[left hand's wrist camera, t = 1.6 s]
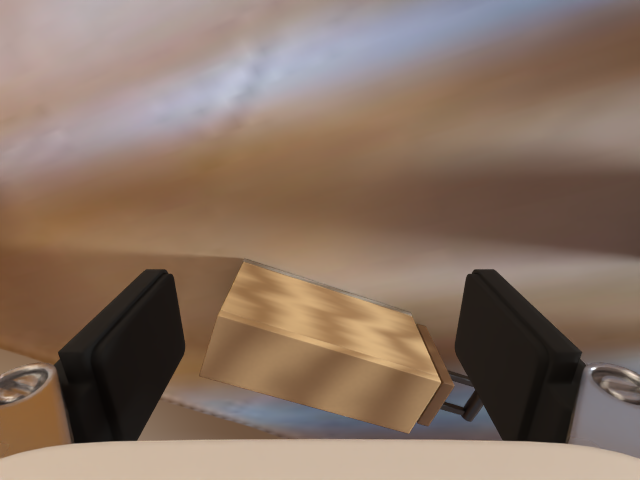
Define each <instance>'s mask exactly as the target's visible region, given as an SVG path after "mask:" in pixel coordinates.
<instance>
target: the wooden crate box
mask: <svg viewBox="0 0 640 480" xmlns="http://www.w3.org/2000/svg"><path fill="white" fill-rule="evenodd" d="M199 376H201V377H204V378H208V379H211V380H215V381H219V382H222V383H226V384H230V385H233V386H237V387H241V388H244V389H248V390H251V391H255V392H259V393H262V394H266V395H270V396H273V397H277V398H281V399H284V400H288V401H291V402H295V403H299V404H302V405H306V406H310V407H313V408H317V409H321V410H324V411H328V412H331V413H335V414H339V415H342V416H346V417H350V418H353V419H357V420H361V421H364V422H368V423H371V424H375V425H379V426H382V427H386V428H390V429H393V430H397V431H401V432H404V433H408V434H409V433H410V431H411V430H412V428H413V426H414V425H415V423H416V422H417V420H418V418H419V417H420V415H421V414H422V412H423V411H424V409H425V407H426V406H427V404H428V403H429V401H430V399H431V398H432V396H433V395H434V393H435V392H436V390H437V388H438V387H439V385H440V384H441V381H440V378H439V377H438V374H437V372H436V370H435V367H434V365H433V363H432V360H431V358H430V356H429V354H428V351H427V349H426V347H425V345H424V342H423V340H422V338H421V336H420V333H419V331H418V329H417V327H416V324H415V322H414V320H413V318H412V314H411V313H410V312H407V311H404V310H401V309H398V308H395V307H392V306H389V305H386V304H383V303H380V302H377V301H374V300H371V299H367V298H364V297H361V296H358V295H355V294H352V293H349V292H346V291H343V290H340V289H337V288H334V287H331V286H327V285H324V284H321V283H318V282H315V281H312V280H309V279H306V278H303V277H300V276H297V275H294V274H291V273H288V272H284V271H281V270H278V269H275V268H272V267H269V266H266V265H263V264H260V263H257V262H254V261H251V260H248V259H244V261H243V263H242V265H241V267H240V270H239V272H238V274H237V276H236V278H235V280H234V282H233V284H232V286H231V288H230V291H229V293H228V295H227V297H226V299H225V301H224V303H223V305H222V307H221V309H220V311H219V314H218V316H217V319H216V322H215V325H214V329H213V332H212V335H211V338H210V342H209V345H208V348H207V351H206V355H205V358H204V361H203V364H202V368H201V371H200V374H199Z"/></svg>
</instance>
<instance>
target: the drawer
mask: <svg viewBox="0 0 640 480" xmlns="http://www.w3.org/2000/svg"><path fill="white" fill-rule="evenodd" d="M416 327H417V329H418V331H419V333H420V336H421V338H422V340H423V342H424V345H425V347H426V349H427V351H428V354H429V356H430V358H431V360H432V363H433V365H434V367H435V370H436V372H437V374H438V377H439V378H440V381H441V384H440V385H439V387H438V388H437V390H436V392H435V393H434V395H433V396H432V398H431V399H430V401H429V403H428V404H427V406H426V407H425V409H424V411H423V412H422V414H421V415H420V417H419V418H418V420H417V423H418V424H421V425H425V426H429V425H430V423H431V422H432V420H433V418H434V417H435V415H436V414H437V412H438V411H439V409H442V410H445V411H449V412H452V413H456V414H459V415H461V416H462V417H463V418H464V419H465V420H467V421H469V422H471V421H472V420H473V419H474V418H475V416H476V415H477V413H478V412H479V411H480V409H481V408H482V406H483V403H482V401H481V399H480V398H479V396H478V394H477V392H476V390H475V391H474V393H473V394H472V396H471V397H470V398H469V400H468V401H467V403H466V404H465V406H464V407H461V406H457V405H454V404H451V403H447V402H445V400H446V399H447V397H448V395H449V394H450V392H451V391H452V389H453V388H454V383H453V381H455V382H459V383H462V384H465V385H469V386H472V387H473V385H472V383H471V381H470V379H469V377H468V376H464V375H461V374H458V373H455V372H451V371H448V370H447V369H446V367H445V365H444V363H443V361H442V359H441V357H440V355H439V353H438V350H437V348H436V346H435V344H434V342H433V340H432V338H431V336H430V334H429V332H428V330H427V328H426V326H423V325H420V324H416Z"/></svg>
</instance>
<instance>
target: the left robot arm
mask: <svg viewBox="0 0 640 480" xmlns="http://www.w3.org/2000/svg"><path fill="white" fill-rule="evenodd" d="M184 352H185V340H184V334H183V329H182V323H181V317H180V311H179V305H178V299H177V293H176V288H175V282H174V277H173V275H172V274H168V272H167V271H166V270H164V269H146V270H145V271H143V272H142V273H141V274H140V275H139V276H138V277H137V278H136V279H135V280H134V281H133V282H132V283H131V284H130V285H129V286H128V287H127V288H125V289H124V290H123V291H122V292H121V293H120V294H119V295H118V296H117V297H116V298H115V299H114V300H113V301H112V302H111V303H110V304H109V305H107V306H106V307H105V308H104V309H103V310H102V311H101V312H100V313H99V314H98V315H97V316H96V317H95V318H94V319H93V320H92V321H91V322H89V323H88V324H87V325H86V326H85V327H84V328H83V329H82V330H81V331H80V332H79V333H78V334H77V335H76V336H75V337H74V338H73V339H71V340H70V341H69V342H68V343H67V344H66V345H65V346H64V347H63V348H62V349H61V350H60V351H59V352H58V354H59V357H60V360H59V361H58V362H57V363H56V364H55V365H51V364H49V363H33V364H27V365H23V366H20V367H16V368H14V369H11V370H9V371H7V372H4V373H2V374H0V480H640V374H638V373H636V372H633V371H631V370H629V369H626V368H624V367H620V366H617V365H613V364H608V363H591V364H589V365H585V364H584V363H583V362H582V361H581V360H580V357H581V354H582V352H581V351H580V350H579V349H578V348H577V347H576V346H575V345H574V344H573V343H572V342H571V341H570V340H569V339H567V338H566V337H565V336H564V335H563V334H562V333H561V332H560V331H559V330H558V329H557V328H556V327H555V326H554V325H553V324H552V323H551V322H549V321H548V320H547V319H546V318H545V317H544V316H543V315H542V314H541V313H540V312H539V311H538V310H537V309H536V308H535V307H534V306H533V305H531V304H530V303H529V302H528V301H527V300H526V299H525V298H524V297H523V296H522V295H521V294H520V293H519V292H518V291H517V290H516V289H515V288H513V287H512V286H511V285H510V284H509V283H508V282H507V281H506V280H505V279H504V278H503V277H502V276H501V275H500V274H499V273H498V272H497V271H495V270H494V269H476V270H474V271H473V272H472V274H468V275H467V277H466V282H465V288H464V293H463V299H462V305H461V311H460V317H459V323H458V329H457V334H456V340H455V352H456V355H457V357H458V359H459V361H460V363H461V364H462V366H463V368H464V370H465V372H466V374H467V375H468V377H469V379H470V381H471V383H472V385H473V387H474V388H475V390H476V392H477V394H478V396H479V398H480V399H481V401H482V403H483V405H484V407H485V409H486V410H487V412H488V414H489V416H490V418H491V420H492V421H493V423H494V425H495V427H496V429H497V431H498V432H499V434H500V436H501V438H502V440H503V441H480V440H402V439H241V440H240V439H238V440H160V441H137V440H138V438H139V436H140V434H141V432H142V431H143V429H144V427H145V425H146V423H147V421H148V420H149V418H150V416H151V414H152V412H153V410H154V409H155V407H156V405H157V403H158V401H159V399H160V398H161V396H162V394H163V392H164V390H165V388H166V387H167V385H168V383H169V381H170V379H171V377H172V375H173V374H174V372H175V370H176V368H177V366H178V364H179V363H180V361H181V359H182V357H183V355H184Z"/></svg>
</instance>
